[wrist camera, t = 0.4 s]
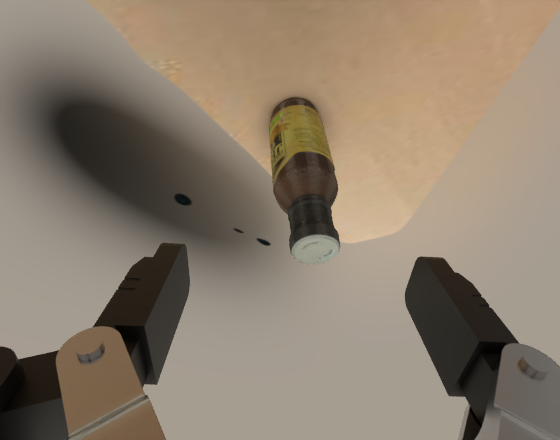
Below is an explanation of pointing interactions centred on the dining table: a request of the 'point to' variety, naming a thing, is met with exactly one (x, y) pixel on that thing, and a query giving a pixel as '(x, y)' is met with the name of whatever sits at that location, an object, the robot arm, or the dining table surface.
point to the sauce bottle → (304, 180)
